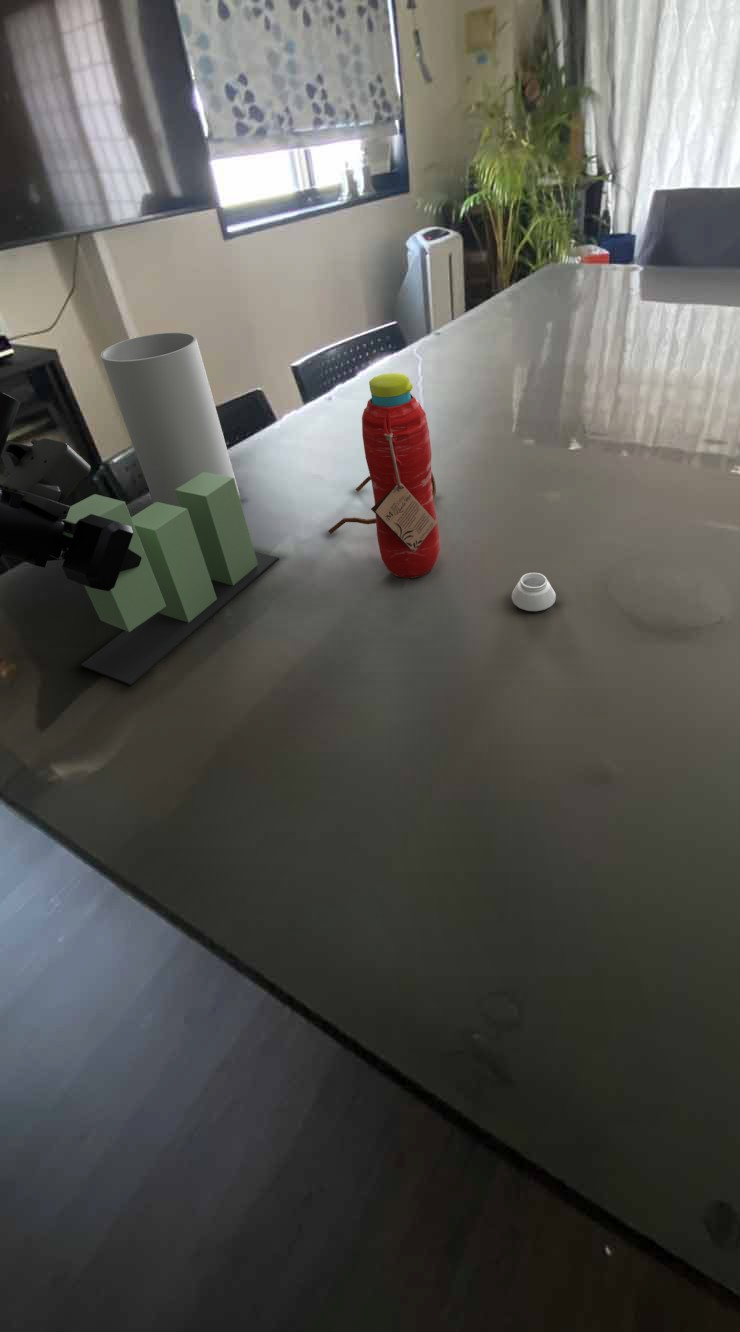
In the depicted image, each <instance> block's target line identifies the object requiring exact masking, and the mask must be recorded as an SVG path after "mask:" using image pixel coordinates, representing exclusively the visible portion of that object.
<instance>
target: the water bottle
mask: <svg viewBox="0 0 740 1332" xmlns="http://www.w3.org/2000/svg"><path fill="white" fill-rule="evenodd" d="M368 384H369V391H370V394H371V395H370V396H371V398H369V399H368V400H367V404H366V407H364V409H363V412H362V415H361V432H362V434H361V435H362V443H363V450H364V456H365V461H366V465H367V469H368V474H369V476H370V477H371V480H370V482H371V487H372V493H373V498H374V499H373V500H374V505H373V506H372V507H371V508H370V510H371V512H373V513H374V514H375V518H376V523H375V525H376V526H375V527H376V537H377V538H376V539H377V544H378V549H379V553H380V557H381V561H382V562H383V564H384V565H385V566H386V569H387V571H389V572H390V573H392V574H393V575H394V576H396V577H397V578H405V579H413V578H418V577H422V576H424V575H426V574H428V573H429V572H432V569H434V566H435V565H436V562H437V560H438V557H439V554H440V551H441V547H440V531H439V526H438V520H437V515H436V514H437V513H436V508H435V502H434V500H433V495H432V482H431V471H432V447H431V435H430V429H429V425H428V420H427V414H426V412H425V410H424V409H423V407H422V405H421V404H420V403H421V402H420V401H419V400H417V399H416V397H415V395H414V394H413V393H411V392H412V390H413V388H414V386H413V383H411V380H410V378H409V376H408V375H407V374H404V373H401V372H389V373H381V374H379V375H376V376H373V377H372V378H371V379H370V380H369V382H368Z"/></svg>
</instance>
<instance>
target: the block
mask: <svg viewBox="0 0 740 1332" xmlns="http://www.w3.org/2000/svg"><path fill="white" fill-rule="evenodd" d="M69 506H70V509H69V512H68V515H67V518H66V519H62V520H64V521H67V522H70V523H73V524H76V523H77V521H78V520H79V519H82V518H84V517H86V516H88V515H90V514H94V515H97V516H100V517H103V518H107V519H110V520H113V521H116V522H119V523H122V524H125V525H128V526H131V527H132V530H133V536H132V539H131V542H130V545H129V548H128V549H130V550H132V551H133V552H135V553H136V554H138V555H139V556H141V558H142V559H141V562H140V565H139V566H138V567H136V568H132V569H129V570H125V571H121V572H120V573H119V576H118V579H117V581H116V584H115V587H114V588H113V589H111V590H110V591H104V590H99V589H95V588H91V587H88V586H85V585H83V586H84V589H85V590H86V593H87V595H88V598H89V599H90V602H91V603H92V606H93V608H94V611H95V613H96V615H97V616H98V619H99V620H100V622H102V623H103V622H104V623H106V624H108V625H111V626H113V627H116V628H117V629H121V630H123V631H128V632H130V631H132V630H133V629H135V628H136V627H137V626H139V625H140V624H142V623H143V622H144V621H146V620H147V619H149V618H150V617H152V616H153V615H154V614H156V613H157V612H159V611H160V610H162V609H163V608H164V607H166V604H165V602H164V599H163V597H162V594H161V592H160V589H159V587H158V584H157V582H156V579H155V577H154V574H153V572H152V569H151V567H150V564H149V562H148V559H147V557H146V554H145V551H144V549H143V546H142V544H141V541H140V539H139V536H138V534H137V531H136V529H135V526H134V524H133V521H132V519H131V517H132V516H131V514H130V512H129V509H128V506H127V504H126V501H123V500H119V499H116V498H111V497H107V496H103V495H100V494H96V493H94V494H92V495H90V496H88V497H86V498H84V499H83V500H80V501H78V502H76V503H75V504H72V505H69ZM63 535H66V536H69V537H72V538H73V535H72V534H69V533H66V532H63ZM68 549H69V548H67V550H68Z"/></svg>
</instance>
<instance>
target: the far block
mask: <svg viewBox="0 0 740 1332" xmlns="http://www.w3.org/2000/svg"><path fill="white" fill-rule="evenodd" d="M237 487H238V486H237ZM237 487H236V484H235V480H234V478H233V477H228V476H222V475H217V474H212V473H206V472H203V473H201V474H200V475H198V476H196V477H195V478H193V479H192V480H190V481H188V482H187V483H185V484H184V485H182V486H180V487H179V488H177V489H176V490H175V492H176V495H177V498H178V501H179V504H180V507H182V508H186V509H188V512H189V515H190V519H191V522H192V525H193V528H194V531H195V534H196V537H197V540H198V543H199V546H200V549H201V552H202V555H203V558H204V561H205V564H206V567H207V570H208V573H209V576H210V579H211V580H215V581H218V582H222V583H226V584H229V585H235V584H236V583H237V582H238V581H239V580H241V579H242V578H243V577H244V576H245V575H247V574H248V573H249V572H250V571H251V570H253V569H254V568H255V567H256V566H257V565H258V563H257V560H256V556H255V552H256V551H255V549H254V546H253V542H252V539H251V535H250V532H249V527H248V524H247V520H246V516H245V513H244V510H243V506H242V502H241V498H240V497H239V495H240V494H239V495H238V491H237Z"/></svg>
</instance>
